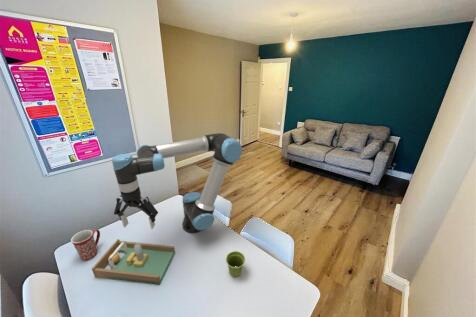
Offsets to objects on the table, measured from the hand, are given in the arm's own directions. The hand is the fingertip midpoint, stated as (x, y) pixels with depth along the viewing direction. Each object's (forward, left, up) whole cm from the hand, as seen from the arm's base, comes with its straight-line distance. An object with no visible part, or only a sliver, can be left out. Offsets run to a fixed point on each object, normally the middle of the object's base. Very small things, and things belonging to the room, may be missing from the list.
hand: (139, 226), depth 94 cm
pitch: (+4, +1, -23) cm, 23 cm away
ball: (+16, -5, -20) cm, 26 cm away
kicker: (+4, +1, -21) cm, 21 cm away
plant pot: (-41, +23, -23) cm, 53 cm away
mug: (+28, -16, -23) cm, 40 cm away
